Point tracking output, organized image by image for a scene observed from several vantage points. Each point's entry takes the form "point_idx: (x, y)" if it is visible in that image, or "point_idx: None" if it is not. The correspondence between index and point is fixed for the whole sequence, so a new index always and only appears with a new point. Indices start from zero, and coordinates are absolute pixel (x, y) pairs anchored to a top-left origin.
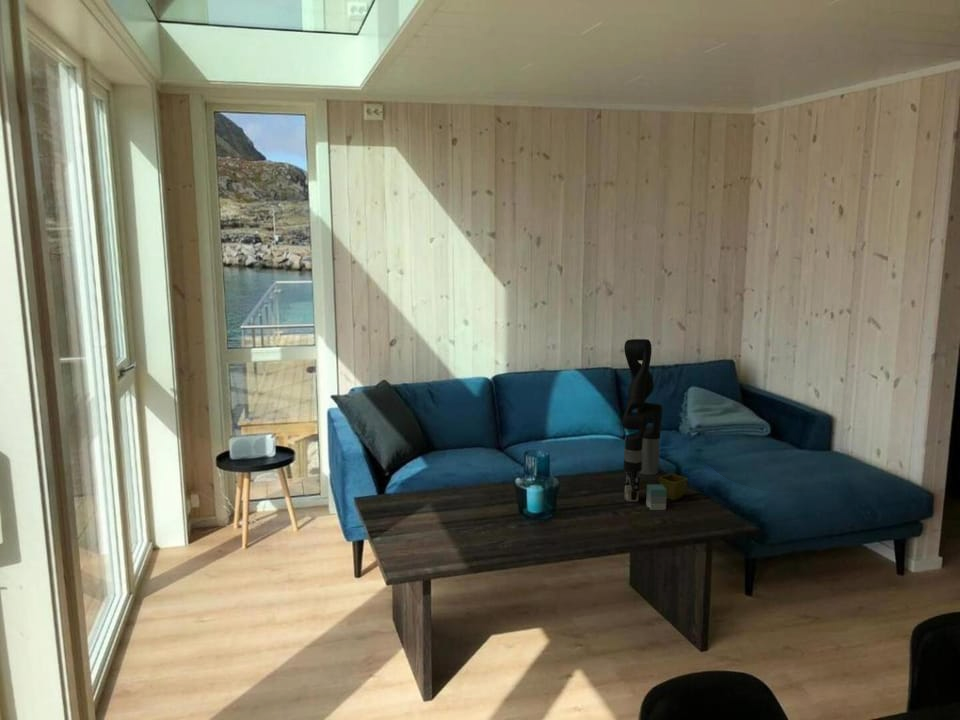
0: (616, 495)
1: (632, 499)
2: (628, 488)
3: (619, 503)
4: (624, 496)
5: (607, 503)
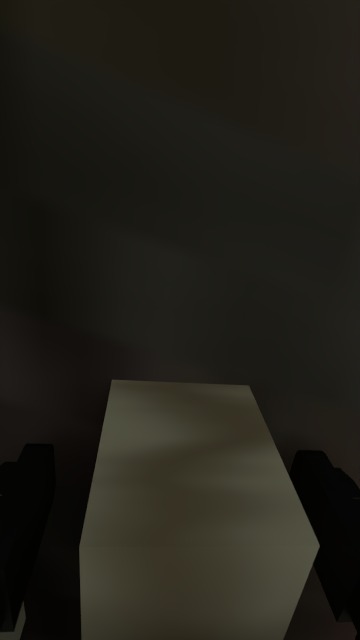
0: (350, 318)
1: (27, 453)
2: (119, 563)
3: (32, 256)
4: (250, 395)
5: (25, 29)
